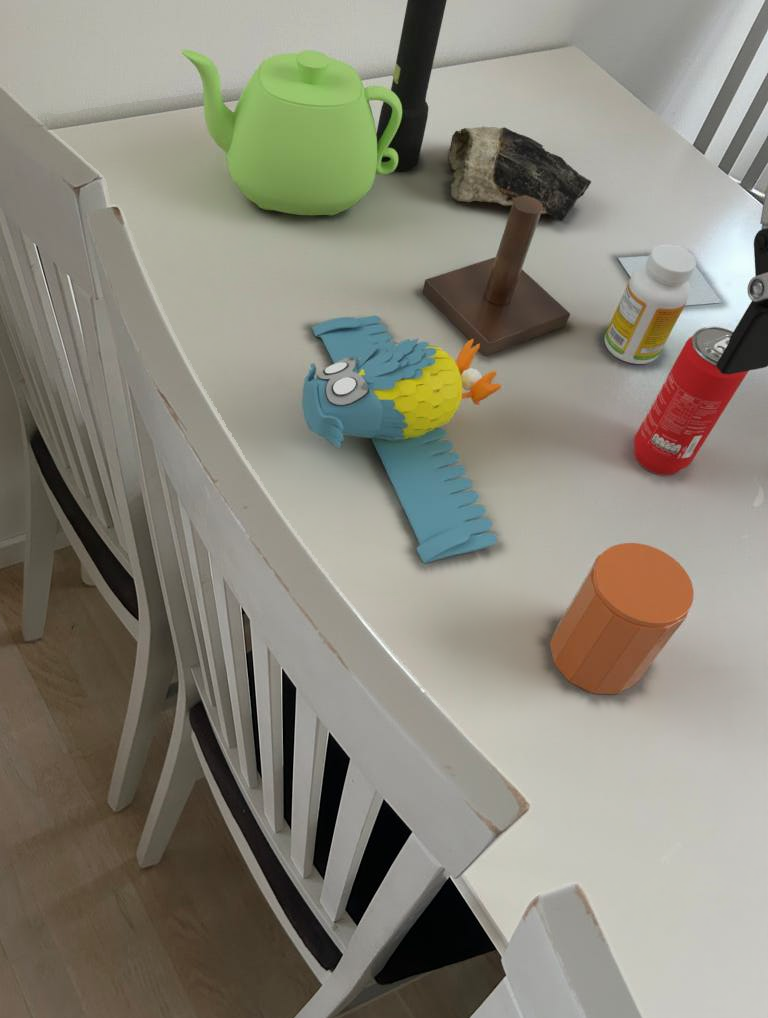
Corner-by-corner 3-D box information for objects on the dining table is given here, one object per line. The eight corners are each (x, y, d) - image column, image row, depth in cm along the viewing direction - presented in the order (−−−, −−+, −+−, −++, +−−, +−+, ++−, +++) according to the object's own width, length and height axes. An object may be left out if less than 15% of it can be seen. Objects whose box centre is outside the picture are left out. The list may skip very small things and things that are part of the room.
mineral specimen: (455, 91, 105) (596, 100, 105) (444, 159, 111) (577, 168, 111) (460, 154, 97) (612, 163, 97) (448, 223, 103) (591, 232, 103)
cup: (599, 604, 76) (646, 528, 68) (659, 670, 73) (715, 599, 66) (532, 638, 73) (573, 564, 66) (592, 708, 70) (642, 639, 63)
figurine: (666, 289, 99) (674, 273, 98) (654, 272, 101) (661, 255, 99) (686, 288, 100) (695, 272, 98) (674, 270, 101) (682, 254, 100)
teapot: (177, 221, 97) (178, 86, 86) (183, 137, 106) (184, 4, 95) (396, 239, 99) (424, 109, 89) (385, 155, 108) (410, 27, 97)
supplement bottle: (664, 340, 95) (710, 251, 87) (651, 373, 92) (698, 284, 84) (610, 321, 96) (651, 231, 88) (596, 352, 93) (637, 263, 85)
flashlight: (407, 143, 109) (365, 147, 108) (460, -114, 90) (410, -113, 88) (425, 169, 107) (382, 173, 106) (484, -90, 87) (433, -88, 86)
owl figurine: (572, 465, 71) (377, 501, 68) (537, 540, 79) (359, 577, 75) (429, 232, 86) (262, 252, 82) (410, 314, 93) (256, 336, 89)
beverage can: (617, 451, 86) (676, 339, 76) (653, 427, 88) (715, 315, 78) (663, 488, 84) (730, 378, 74) (699, 462, 86) (769, 353, 76)
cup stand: (501, 266, 99) (535, 161, 90) (565, 326, 94) (608, 223, 85) (421, 292, 95) (448, 186, 86) (484, 356, 91) (520, 251, 82)
